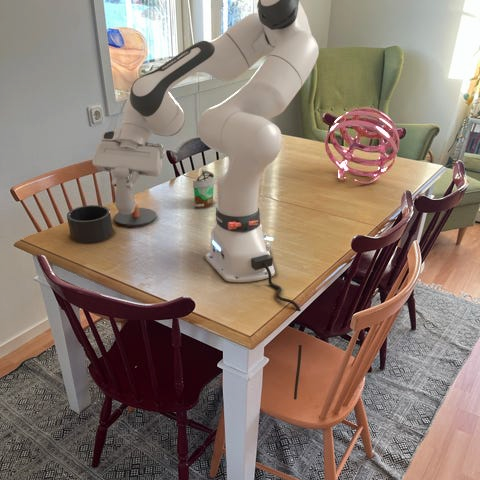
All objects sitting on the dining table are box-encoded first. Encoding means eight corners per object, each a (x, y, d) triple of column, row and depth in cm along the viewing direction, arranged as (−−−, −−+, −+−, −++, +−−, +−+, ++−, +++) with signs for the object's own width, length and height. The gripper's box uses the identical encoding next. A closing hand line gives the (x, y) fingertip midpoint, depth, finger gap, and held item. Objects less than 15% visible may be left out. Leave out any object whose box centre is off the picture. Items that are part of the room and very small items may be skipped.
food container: (211, 211, 164) (210, 183, 158) (194, 210, 165) (192, 181, 159) (219, 198, 174) (219, 171, 168) (203, 197, 175) (202, 169, 169)
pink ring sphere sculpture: (374, 145, 161) (398, 86, 169) (303, 151, 178) (327, 96, 186) (395, 198, 182) (415, 143, 190) (330, 199, 199) (351, 148, 207)
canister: (114, 240, 145) (111, 219, 141) (71, 245, 142) (66, 223, 138) (111, 224, 155) (108, 203, 151) (71, 228, 152) (67, 207, 148)
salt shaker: (127, 217, 137) (120, 172, 129) (112, 213, 139) (105, 168, 132) (140, 210, 141) (135, 166, 133) (126, 206, 143) (120, 163, 136)
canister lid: (159, 225, 154) (158, 211, 152) (116, 230, 151) (113, 216, 149) (154, 209, 165) (152, 196, 162) (113, 213, 162) (111, 200, 159)
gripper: (170, 150, 138) (159, 195, 136) (106, 144, 142) (95, 187, 140) (162, 138, 132) (151, 185, 130) (96, 132, 136) (84, 177, 134)
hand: (121, 186), depth 135 cm, fingers closed on salt shaker, 3 cm apart
